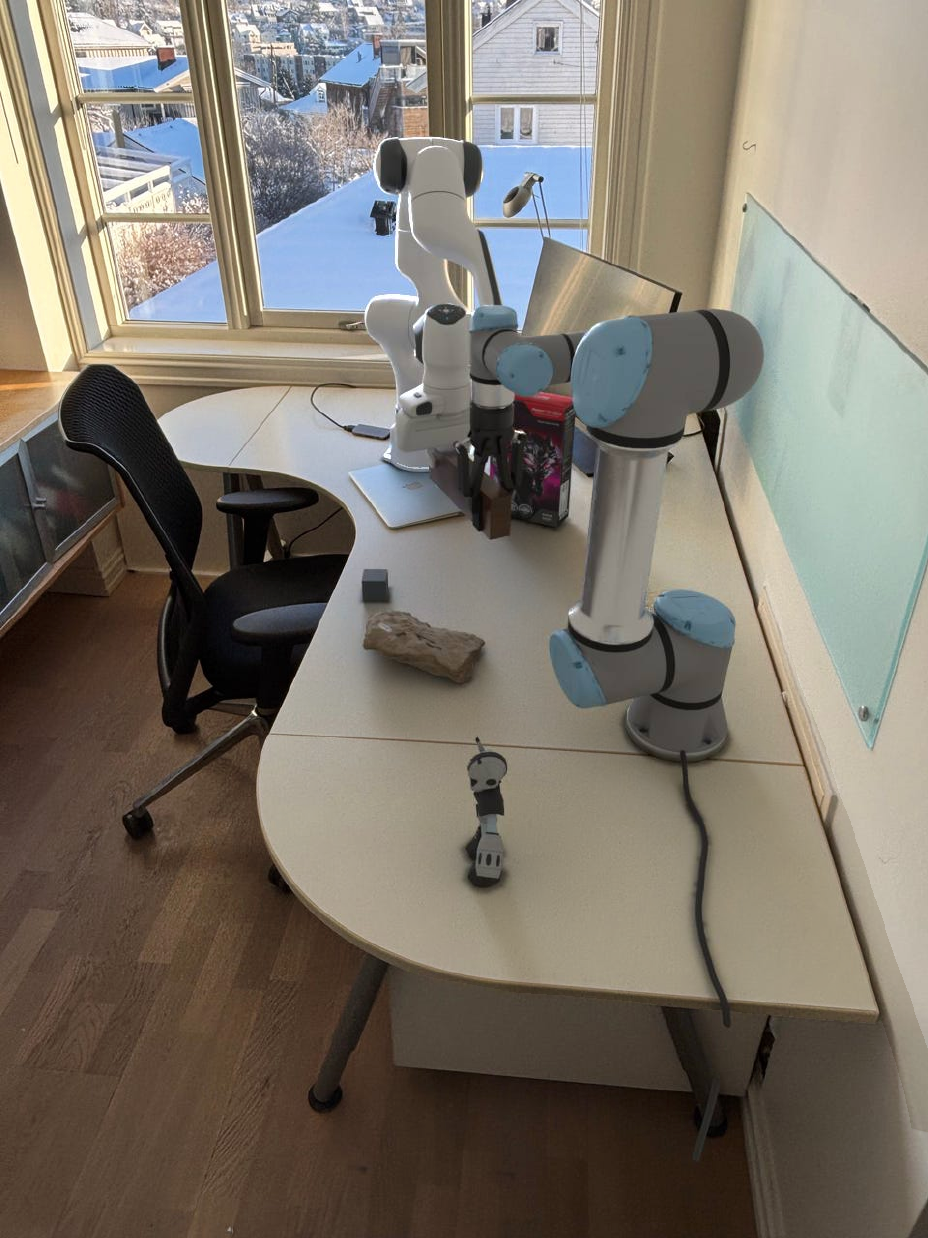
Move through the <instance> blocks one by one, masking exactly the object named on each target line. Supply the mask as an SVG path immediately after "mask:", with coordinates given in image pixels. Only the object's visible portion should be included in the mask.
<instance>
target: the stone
mask: <svg viewBox="0 0 928 1238" xmlns="http://www.w3.org/2000/svg"><path fill="white" fill-rule="evenodd" d="M366 623H367V624H366V625H365V629H366V632H365V634H364V638H363V642H362V648H363V649H364V650H365V651H368V650H370V651H377V652H379V653H380V654H382V656H383V657H384V658H386V659H388V660H389V659H390V660H395V661H396V662H397V663H403V664H408V665H410V666H413V667H415V668H417V669H420V670H421V671H426V672H427V673H429V674H431V675H433V676H437V677H446V678H449V679H450V680H452V681H453V682H454V683H459V684H464V683H467V681H468V680H469V679H470V676H471V675H472V672H473V670H474V669H473V668H474V667H473V666H474V664H475V662H476V661H477V658H478V656H479V654H480V653H481V651H482V648H483V647H484V646H485V645H486V641H485V640H484V639H483V638H481V637H480V636H477V635H476V634H474V633H470V632H465V631H464V632H463V631H457V630H451V629H448V628H446V627H434V626H431V625H430V623H428V622H426V621H421V620H420V619H419V618H418V617H416V616H413V615H412V613H410V612H405V611H400V610H387V609H386V610H382V611H380V612H377V613H376V614H374V615H373V616H371V617H369V618H368V620H367V622H366Z"/></svg>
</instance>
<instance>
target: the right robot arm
mask: <svg viewBox="0 0 928 1238" xmlns="http://www.w3.org/2000/svg"><path fill="white" fill-rule="evenodd" d="M471 312H472V315H471V327H470V331H469V333H470V400H471V401H472V402H471V403H470V431H469V433H468V435H467V438H466V439H464V440H462V441H461V442H459V441H455V442H454V444H453V445H454V448H455V450H456V453H457V472H458V491H459V492H460V493H461V494H462V495H463V496H464V497H468V509H469V511H470V512H471V513H472V521H471V525H472V527H473V528H474V529H476V531H477V532H482V520H483V498H482V497H481V496H480V495H479V494H480V489H481V484H482V480H483V475H484V471H485V470H486V465H487V463H488V462H489V460H490V456H491V455H493V454H494V455H495V457H496V463H497V469H498V474H499V480H500V485H501V486H502V487H503V488H504V489H505V490H506V491H507V492H508V493H509V494H512V493H513V492H514V489H513V488H515V487H519V486H521V482H522V469H523V457H524V447H525V444H526V442H527V439H528V435H526V434H525V433H524V432H522V431H521V430H517V431H516V430H514V428H513V422H514V404H513V403H512V402H513V401H514V400H515V394H517V395H519V396H523V397H531V396H535V395H537V394H538V393H540V392H544V390H546V389H547V387H548V386H552V385H560V384H566V383H570V392H572V393H573V394H572V395H573V396H572V397H573V398H572V402H573V406H574V409H575V411H576V415H577V418H578V419H579V420H580V421H581V422H582V423H583V424H584V425H585V429H586V433H587V435H588V436H589V437H590V438H591V439H592V440H593V441H594V442H595V443H596V451H595V458H594V459H595V461H594V470H593V479H592V480H593V481H592V488H591V489H592V490H591V499H590V508H589V518H588V528H587V538H586V547H585V549H586V550H585V558H584V569H583V578H582V589H581V599H579V600H577V601H575V602H574V604H572V606H571V607H570V608H569V611H568V618H567V627H566V628H558V629H557V630H555V631H554V632H552V633H551V635H550V637H549V641H548V642H549V644H548V648H549V656H550V661H551V665H552V668H553V669H552V670H553V672H554V675H555V678H556V680H557V683H558V685H559V687H560V689H561V691H562V692H563V694H564V696H565V697H566V698H567V700H568V701H569V702H570V703H571V705H573V706H575V707H576V708H579V709H584V710H585V709H591V708H598V707H601V708H604V707H606V706H607V705H612V704H616V703H620V702H624V701H625V702H626V701H628V700H632V701H631V702H630V704H629V705H628V707H627V711H626V719H625V728H626V732H627V734H628V736H629V738H630V739H631V741H632V742H634V744H636V745H637V746H638V747H639V748H640V749H641V750H643V751H645V752H646V753H648V754H650V755H651V756H654V757H656V758H659V759H662V760H666V761H670V762H675V763H680V766H681V773H682V787H683V793H684V797H685V801H686V804H687V806H688V808H689V810H690V812H691V813H692V815H693V818H694V819H695V822H696V823H697V826H698V828H699V831H700V836H701V849H700V851H701V852H700V857H699V862H698V863H699V864H698V870H697V871H698V872H697V884H696V892H695V903H694V917H695V925H696V931H697V937H698V940H699V944H700V948H701V952H702V955H703V959H704V962H705V965H706V969H707V972H708V975H709V978H710V981H711V983H712V985H713V988H714V990H715V992H716V994H717V996H718V999H719V1002H720V1006H721V1013H722V1024H723V1026H724V1027H725V1028H731V1026H732V1024H731V1023H732V1021H731V1013H730V1012H731V1011H730V1007H729V1002H728V998H727V996H726V993H725V990H724V988H723V986H722V984H721V982H720V980H719V977H718V974H717V972H716V968H715V965H714V961H713V959H712V956H711V953H710V950H709V946H708V942H707V938H706V935H705V928H704V922H703V896H704V887H705V879H706V878H705V877H706V876H705V875H706V865H707V858H708V852H709V851H708V850H709V839H708V832H707V827H706V825H705V822H704V820H703V818H702V816H701V814H700V812H699V811H698V809H697V807H696V805H695V803H694V801H693V798H692V795H691V791H690V783H689V781H690V780H689V769H688V763H694V762H700V761H703V760H706V759H709V758H711V757H714V755H716V754H718V752H720V751H721V750H722V748H723V747H724V744H725V743H726V740H727V739H726V738H727V734H728V721H727V716H726V712H725V708H724V707H725V706H724V701H723V692H724V686H725V682H726V678H727V672H728V668H729V664H730V659H731V654H732V651H733V647H734V645H735V642H736V640H735V634H736V633H735V632H736V627H737V626H736V617H735V616H734V614H733V612H732V611H731V609H730V608H729V607H728V606H727V605H726V604H724V603H723V602H722V601H720V600H719V599H717V598H715V597H713V596H710V595H709V594H706V593H703V592H699V591H696V590H692V589H683V588H680V589H676V588H675V589H668V590H666V591H663V592H661V593H660V594H659V595H658V597H656V599H655V601H654V602H653V610H649V609H648V608H647V607H646V603H647V595H648V589H649V582H650V575H651V571H652V570H651V569H652V563H653V556H654V549H655V542H656V535H657V528H658V523H659V515H660V510H661V509H660V508H661V502H662V496H663V487H664V482H665V475H666V468H667V462H668V455H669V451H670V450H672V448H674V447H675V446H677V445H679V444H680V443H682V441H683V439H684V436H685V429H686V423H687V417H688V416H689V415H693V414H699V413H705V412H710V411H711V412H712V411H717V410H720V409H722V408H726V407H728V406H730V405H733V404H734V403H736V402H738V401H740V399H742V398H743V397H745V395H747V393H748V392H750V391H751V390H752V388H753V387H754V385H756V383H757V381H758V380H759V377H760V374H761V373H762V369H763V365H764V360H765V359H764V356H765V351H764V343H763V341H762V338H761V335H760V333H759V332H758V330H757V328H756V326H755V325H754V324H753V323H752V322H751V321H750V320H749V319H748V318H746V317H744V316H743V315H741V314H739V313H737V312H734V311H731V310H727V309H721V308H720V309H719V308H704V309H703V308H702V309H697V310H687V311H676V312H667V313H666V312H665V313H656V314H645V315H636V314H629V315H625V316H621V317H619V318H613V319H608V320H603V321H600V322H598V323H596V324H594V325H593V326H591V328H590V329H589V330H584V331H573V332H566V333H563V332H562V333H553V334H544V335H534V336H523V335H522V334H520V332H518V328H519V321H518V314H517V311H516V309H514V308H512V307H511V306H507V305H503V306H502V305H487V306H481V307H480V306H479V307H476V308H475V309H474V310H473V311H471ZM511 439H512V449H511V463H510V471H509V465H508V459H507V458H508V453H507V446H508V444H509V442H510V441H511ZM472 446H473V447H474V450H473V452H472V456H473V460H472V461H473V465H472V470H471V475H469V458H470V457H469V453H470V452H471V449H470V448H471V447H472ZM721 1082H722V1079H720V1078H716V1077H713V1080H712V1084H711V1088H710V1093H709V1096H708V1101H707V1105H706V1108H705V1112H704V1115H703V1119H702V1122H701V1125H700V1128H699V1131H698V1135H697V1138H696V1142H695V1146H694V1150H693V1153H692V1160H693V1161H694V1162H696V1163H697V1162H699V1161H700V1159H701V1158H700V1157H701V1155H702V1152H703V1151H702V1150H703V1147H704V1143H705V1140H706V1137H707V1133H708V1130H709V1127H710V1124H711V1120H712V1117H713V1114H714V1110H715V1106H716V1103H717V1099H718V1095H719V1091H720V1088H721V1087H720V1086H721Z"/></svg>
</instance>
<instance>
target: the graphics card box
mask: <svg viewBox="0 0 928 1238" xmlns="http://www.w3.org/2000/svg"><path fill="white" fill-rule="evenodd" d="M572 398H573V396H567V395H566V396H565V395H561V394H555V393H549V392H545V391H541V392H540V393H538V394H537V395H535V396H531V397H523V396H519V395H517V394H515V400H514V401H513V402H512V403H513V404H514V422H513V428H514V430H516V431H517V430H521V431H522V432H524V433H525V434H526V435H528V439H527V442H526V444H525V447H524V457H523V469H522V482H521V486H519V487H515V488H513V489H514V492H513V493H512V494H511V495H512V496H511V518H516V519H521V520H525V521H529V522H532V523H536V524H540V525H545V526H548V527H553V528H559V527H560V526H561V525H562V523H563V522H564V521H565V520H566V519H568V518H569V514H570V499H571V487H572V470H573V469H572V468H573V454H574V443H575V442H574V441H575V429H576V415H577V414H576V411H575V409H574V406H573V402H572ZM511 449H512V439H511V441H510V442H509V444H508V446H507V453H508V458H507V459H508V465H509V471H510V463H511ZM489 476H490V477H491V478H493V479H494V480H495V481H496V482H497V483H498V484H499V485H500V480H499V474H498V469H497V463H496V457H495V455H494V454H493V455H491V456H489ZM500 486H501V485H500Z"/></svg>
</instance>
